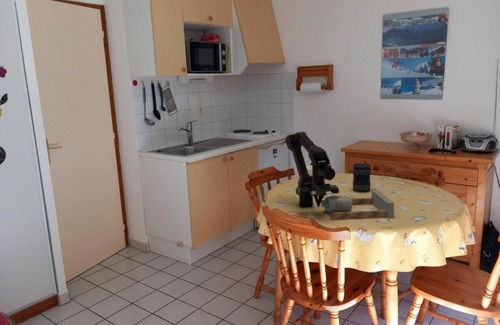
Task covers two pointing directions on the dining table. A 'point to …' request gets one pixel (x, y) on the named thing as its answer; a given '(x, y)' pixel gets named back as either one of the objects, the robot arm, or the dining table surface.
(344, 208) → the spool
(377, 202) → the end stop
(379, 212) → the guide rails
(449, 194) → the dining table surface
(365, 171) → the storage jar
